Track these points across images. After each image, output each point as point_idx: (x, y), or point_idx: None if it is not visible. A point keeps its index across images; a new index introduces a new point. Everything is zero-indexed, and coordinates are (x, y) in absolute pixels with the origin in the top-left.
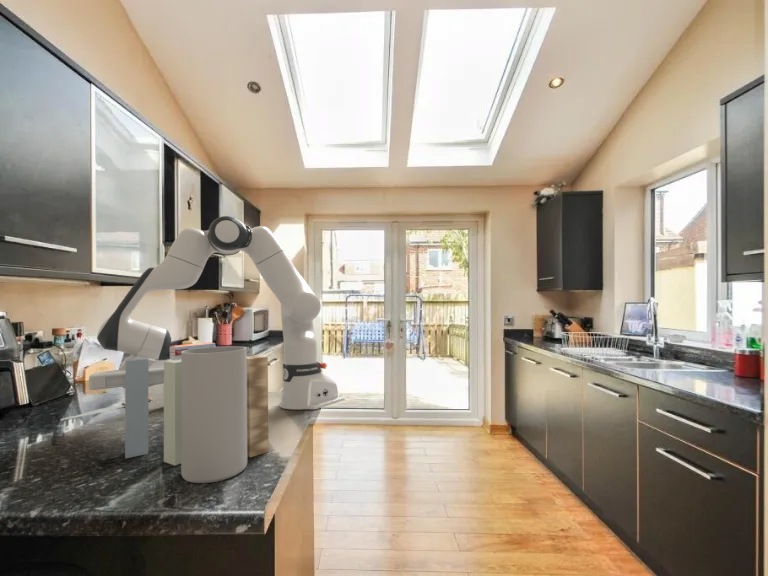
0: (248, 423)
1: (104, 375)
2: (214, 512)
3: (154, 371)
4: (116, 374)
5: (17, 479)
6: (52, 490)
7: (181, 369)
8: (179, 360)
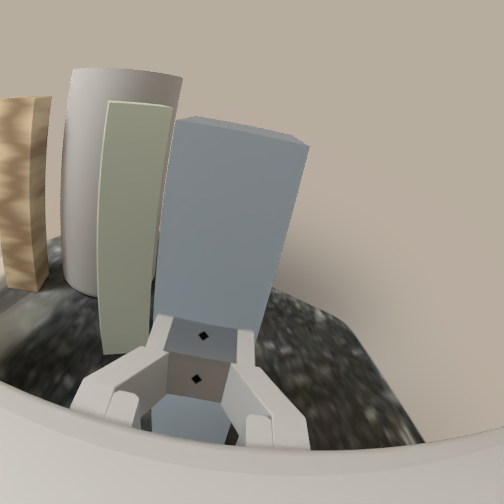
0: (43, 221)
1: (473, 434)
2: (159, 229)
3: (8, 386)
4: (399, 446)
5: (405, 431)
6: (324, 357)
7: (176, 108)
8: (134, 103)
